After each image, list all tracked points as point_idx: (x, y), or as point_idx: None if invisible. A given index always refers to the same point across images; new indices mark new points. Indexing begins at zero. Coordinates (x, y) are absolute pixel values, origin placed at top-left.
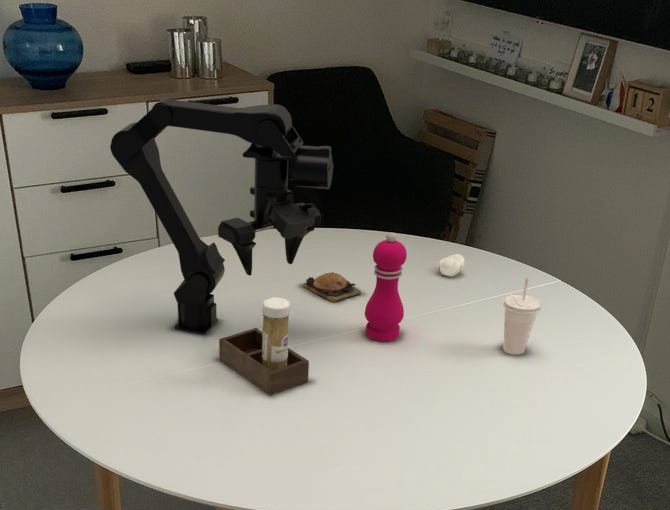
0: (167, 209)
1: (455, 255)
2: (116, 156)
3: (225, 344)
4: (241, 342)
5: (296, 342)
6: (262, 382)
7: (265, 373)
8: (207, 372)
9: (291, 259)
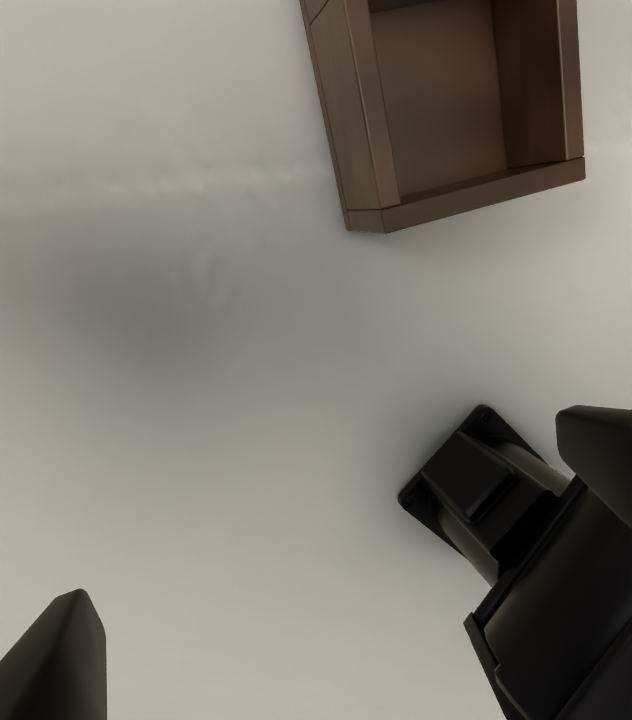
0: None
1: None
2: None
3: (579, 118)
4: (456, 186)
5: (145, 213)
6: None
7: None
8: (593, 98)
9: (66, 624)
